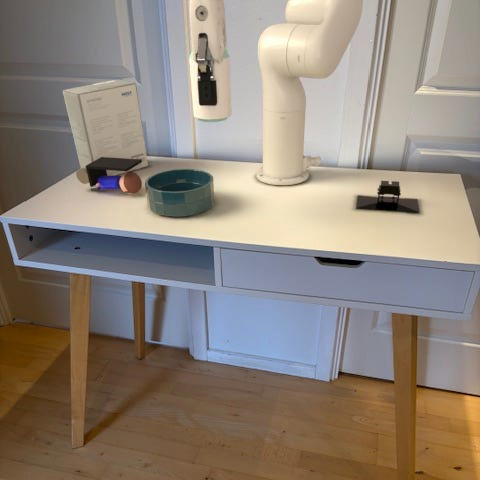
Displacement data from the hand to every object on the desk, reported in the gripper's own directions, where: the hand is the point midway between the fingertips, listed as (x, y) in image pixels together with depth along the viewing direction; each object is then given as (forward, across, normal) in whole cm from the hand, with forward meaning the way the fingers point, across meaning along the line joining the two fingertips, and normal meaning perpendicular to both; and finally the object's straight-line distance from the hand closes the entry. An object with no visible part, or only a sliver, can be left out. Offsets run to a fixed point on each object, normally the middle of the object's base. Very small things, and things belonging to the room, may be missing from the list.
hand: (211, 99), depth 90 cm
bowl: (+22, +3, +8) cm, 23 cm away
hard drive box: (+22, +24, +30) cm, 44 cm away
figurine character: (+22, +11, +26) cm, 36 cm away
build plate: (+22, +4, -35) cm, 42 cm away
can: (+3, 0, 0) cm, 3 cm away
